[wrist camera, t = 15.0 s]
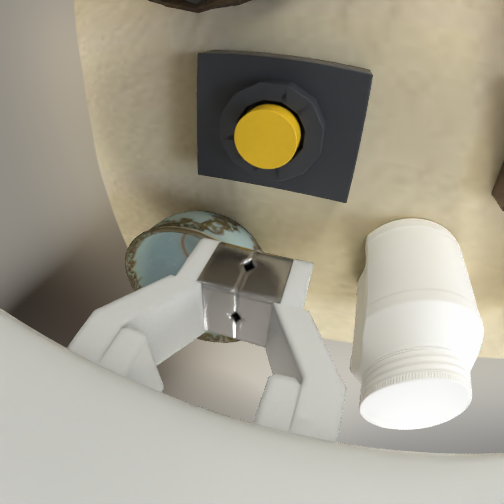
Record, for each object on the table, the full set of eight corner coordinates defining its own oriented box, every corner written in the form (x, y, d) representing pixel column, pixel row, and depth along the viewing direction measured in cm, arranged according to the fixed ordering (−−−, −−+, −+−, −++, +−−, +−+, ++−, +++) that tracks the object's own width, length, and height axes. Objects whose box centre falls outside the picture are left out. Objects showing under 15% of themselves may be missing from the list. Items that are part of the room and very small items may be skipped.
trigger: (304, 108, 19) (300, 114, 18) (297, 164, 22) (292, 174, 20) (243, 100, 20) (235, 105, 18) (240, 154, 22) (232, 163, 21)
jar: (370, 210, 27) (370, 356, 16) (468, 225, 25) (513, 366, 13) (353, 302, 34) (336, 431, 23) (433, 312, 32) (441, 438, 20)
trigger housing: (370, 69, 20) (375, 77, 16) (347, 185, 26) (345, 216, 22) (214, 49, 22) (185, 55, 18) (212, 159, 28) (188, 184, 25)
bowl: (310, 269, 33) (297, 330, 27) (215, 300, 40) (190, 351, 34) (231, 157, 28) (193, 201, 22) (142, 216, 35) (101, 261, 29)
